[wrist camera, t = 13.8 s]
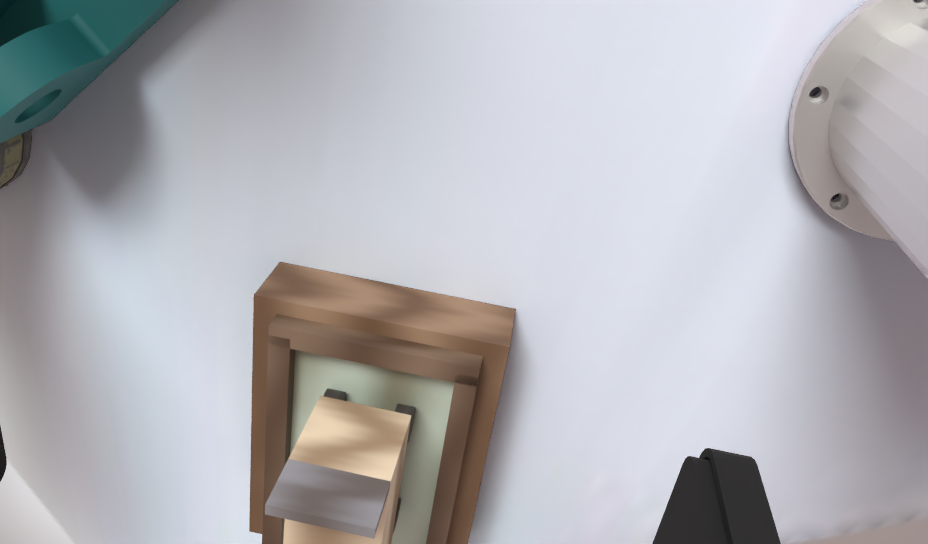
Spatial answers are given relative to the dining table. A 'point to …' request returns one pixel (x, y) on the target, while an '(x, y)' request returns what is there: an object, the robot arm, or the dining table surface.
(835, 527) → the dining table surface
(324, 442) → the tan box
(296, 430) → the dock
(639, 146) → the dining table surface
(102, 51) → the bracket
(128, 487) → the dining table surface
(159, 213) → the dining table surface
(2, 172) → the thermos
